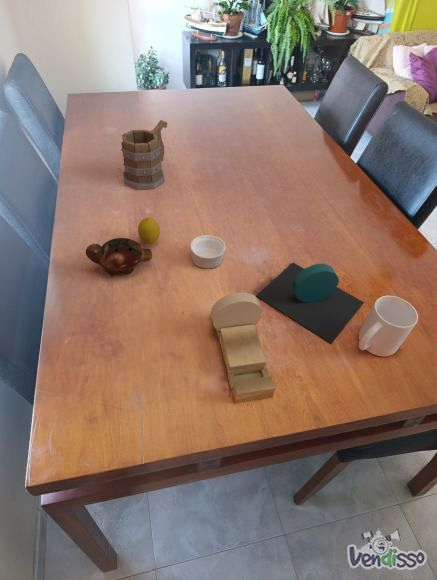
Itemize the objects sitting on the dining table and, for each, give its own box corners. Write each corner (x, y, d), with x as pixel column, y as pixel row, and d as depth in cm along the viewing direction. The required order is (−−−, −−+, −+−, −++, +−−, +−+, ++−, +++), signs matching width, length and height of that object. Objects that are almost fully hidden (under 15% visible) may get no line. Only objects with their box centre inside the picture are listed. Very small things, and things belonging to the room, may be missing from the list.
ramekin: (231, 256, 97) (232, 243, 94) (211, 275, 92) (212, 262, 89) (203, 243, 100) (204, 230, 97) (183, 260, 95) (182, 247, 92)
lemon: (135, 241, 99) (132, 216, 93) (153, 234, 102) (151, 209, 96) (147, 252, 96) (144, 227, 90) (164, 244, 99) (163, 219, 93)
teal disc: (331, 300, 88) (344, 269, 80) (291, 304, 86) (301, 273, 79) (327, 292, 89) (339, 261, 82) (288, 297, 87) (297, 265, 80)
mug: (367, 372, 75) (387, 342, 67) (337, 343, 80) (353, 312, 72) (404, 346, 80) (427, 316, 72) (374, 321, 84) (392, 289, 77)
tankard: (146, 194, 115) (142, 147, 104) (115, 181, 119) (108, 134, 108) (184, 168, 127) (184, 124, 116) (155, 157, 131) (151, 113, 120)
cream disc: (258, 330, 78) (265, 298, 71) (211, 336, 76) (214, 304, 69) (255, 321, 80) (262, 289, 72) (209, 327, 78) (211, 295, 71)
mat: (363, 303, 88) (364, 302, 88) (330, 344, 79) (331, 343, 79) (292, 263, 96) (292, 262, 96) (255, 296, 88) (255, 295, 87)
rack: (271, 401, 70) (276, 387, 66) (233, 407, 68) (235, 394, 65) (245, 318, 83) (248, 303, 79) (212, 322, 82) (214, 307, 78)
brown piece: (86, 261, 93) (81, 234, 87) (146, 252, 98) (146, 226, 92) (91, 286, 86) (87, 259, 81) (156, 276, 91) (156, 249, 86)
